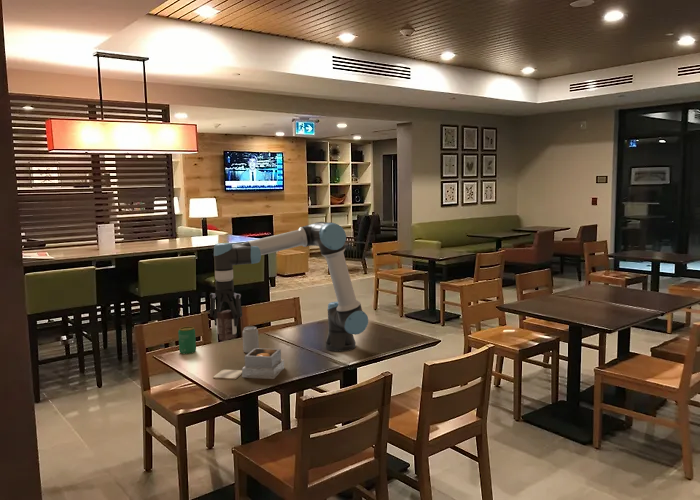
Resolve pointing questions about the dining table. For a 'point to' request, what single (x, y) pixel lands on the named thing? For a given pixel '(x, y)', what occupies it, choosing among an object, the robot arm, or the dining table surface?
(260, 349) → the box
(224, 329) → the box
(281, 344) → the dining table surface
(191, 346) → the beverage can
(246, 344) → the can
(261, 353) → the plunger
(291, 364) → the dining table surface
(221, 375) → the coaster
